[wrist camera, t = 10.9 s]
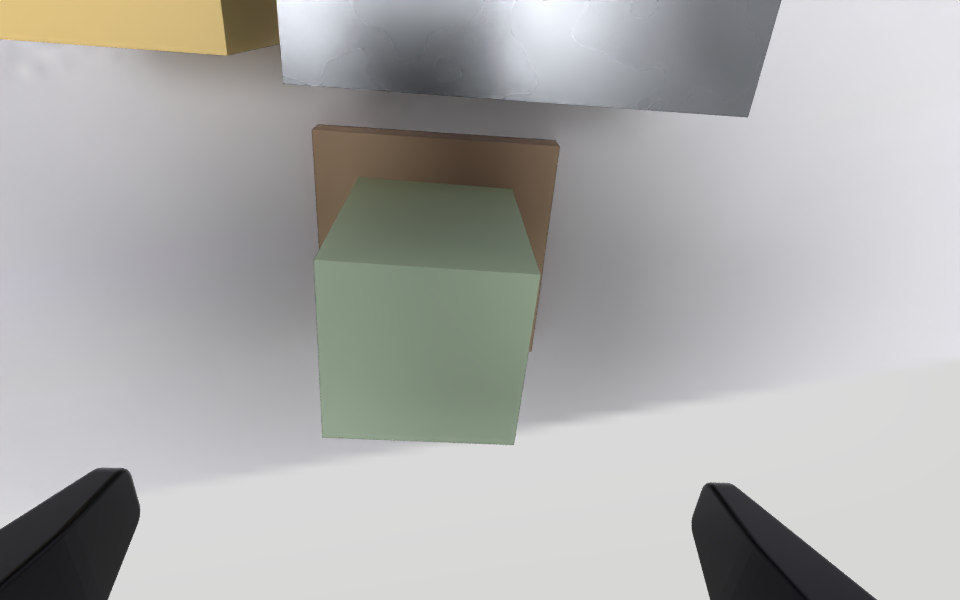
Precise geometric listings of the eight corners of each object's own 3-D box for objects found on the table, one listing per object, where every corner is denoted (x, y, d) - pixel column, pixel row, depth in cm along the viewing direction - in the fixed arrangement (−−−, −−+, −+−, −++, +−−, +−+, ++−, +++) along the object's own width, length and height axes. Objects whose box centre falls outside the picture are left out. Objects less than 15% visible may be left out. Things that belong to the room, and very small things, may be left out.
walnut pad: (329, 331, 20) (325, 343, 19) (318, 124, 16) (311, 129, 16) (528, 339, 20) (531, 351, 19) (555, 140, 17) (559, 146, 16)
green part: (359, 312, 18) (322, 437, 13) (358, 177, 16) (313, 260, 11) (496, 320, 19) (513, 445, 13) (512, 188, 17) (540, 274, 11)
